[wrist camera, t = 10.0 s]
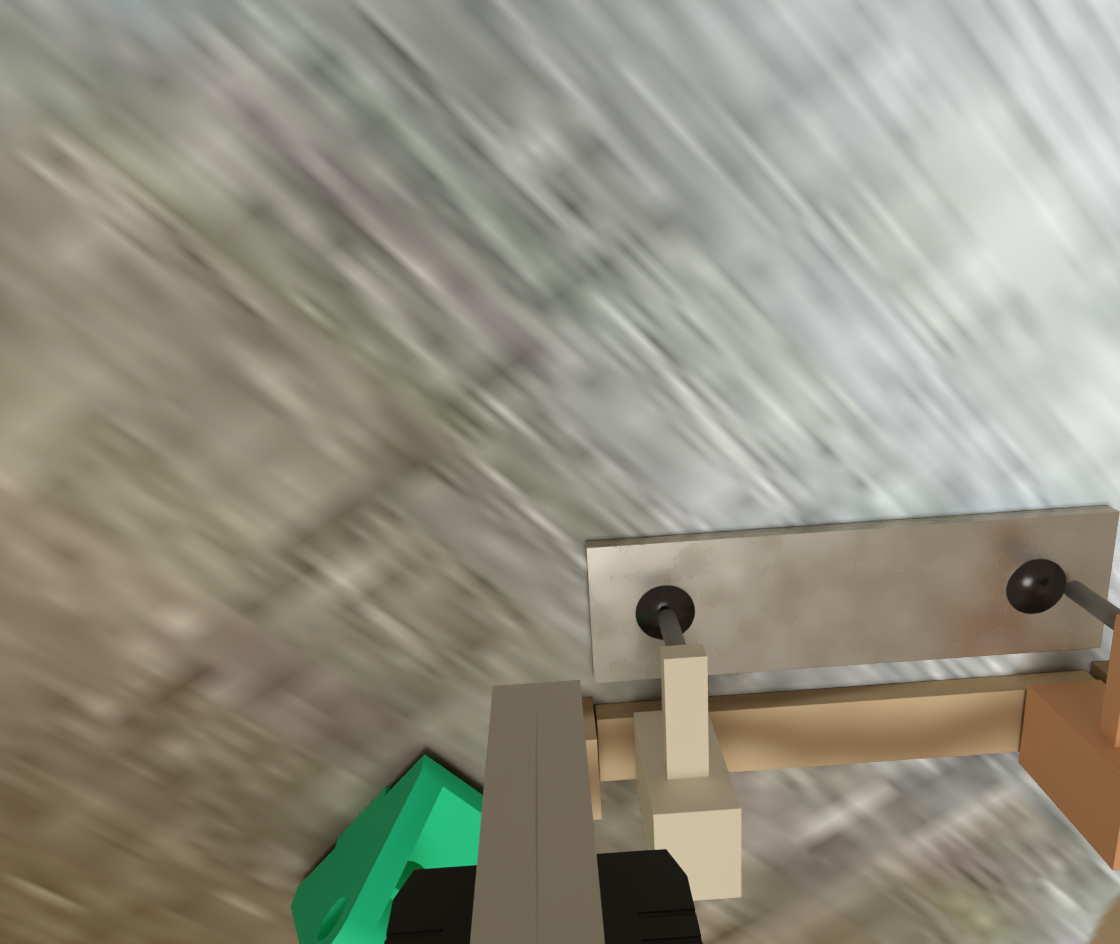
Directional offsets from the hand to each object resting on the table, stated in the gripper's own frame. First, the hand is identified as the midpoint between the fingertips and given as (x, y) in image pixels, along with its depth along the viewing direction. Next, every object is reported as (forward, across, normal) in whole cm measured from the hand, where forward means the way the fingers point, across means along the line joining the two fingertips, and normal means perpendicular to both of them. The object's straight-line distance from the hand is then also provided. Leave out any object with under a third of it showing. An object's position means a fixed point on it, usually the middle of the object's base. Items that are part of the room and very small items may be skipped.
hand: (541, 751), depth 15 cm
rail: (+29, +16, -20) cm, 39 cm away
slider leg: (+28, +28, -17) cm, 43 cm away
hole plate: (+29, +16, -12) cm, 36 cm away
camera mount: (+30, -9, -27) cm, 41 cm away
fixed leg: (+28, +6, -17) cm, 33 cm away
